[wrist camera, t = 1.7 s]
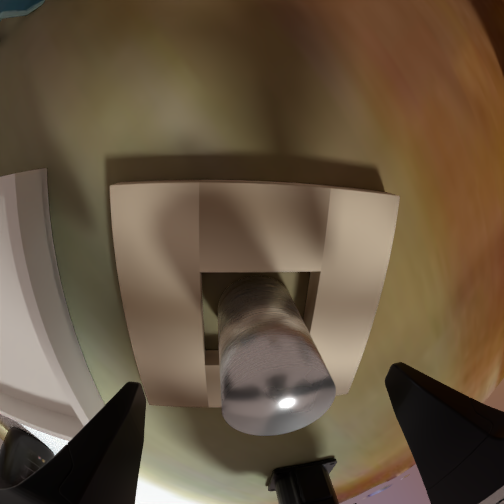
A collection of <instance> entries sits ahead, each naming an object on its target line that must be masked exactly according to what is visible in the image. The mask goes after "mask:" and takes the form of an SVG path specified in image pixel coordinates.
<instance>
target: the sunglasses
mask: <svg viewBox="0 0 504 504" xmlns="http://www.w3.org/2000/svg"><path fill="white" fill-rule="evenodd" d="M44 2H45V1H44V0H0V21H1V20H2V19H4V18H10V17H18V16H26V15H28V14H29V13H31V12H32V11H34V10H35V9H37V8H38V7H40V6H41V5H42V4H43V3H44Z"/></svg>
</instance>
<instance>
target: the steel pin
mask: <svg viewBox="0 0 504 504" xmlns="http://www.w3.org/2000/svg"><path fill="white" fill-rule="evenodd" d="M218 339H219V366H220V387H221V405H222V414H223V417H224V419H225V421H226V422H227V423H228V424H229V425H230V426H231V427H233V428H234V429H236V430H238V431H240V432H243V433H247V434H251V435H259V436H271V435H280V434H285V433H289V432H292V431H295V430H298V429H301V428H303V427H305V426H307V425H309V424H311V423H312V422H314V421H316V420H317V419H318V418H320V417H321V416H322V415H323V414H324V413H325V412H326V411H327V410H328V409H329V407H330V406H331V404H332V403H333V401H334V398H335V395H336V387H335V384H334V381H333V379H332V377H331V375H330V373H329V371H328V369H327V367H326V365H325V363H324V361H323V359H322V357H321V355H320V353H319V351H318V349H317V347H316V345H315V343H314V341H313V339H312V337H311V335H310V333H309V331H308V329H307V327H306V325H305V323H304V321H303V319H302V317H301V315H300V313H299V311H298V309H297V307H296V305H295V303H294V301H293V299H292V298H291V296H290V294H289V292H288V290H287V289H286V287H285V286H284V285H283V284H282V283H280V282H279V281H277V280H276V279H273V278H271V277H268V276H261V275H255V276H248V277H244V278H241V279H239V280H237V281H235V282H234V283H232V284H231V285H230V286H229V287H228V288H227V289H226V290H225V291H224V292H223V294H222V295H221V297H220V300H219V303H218Z"/></svg>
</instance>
